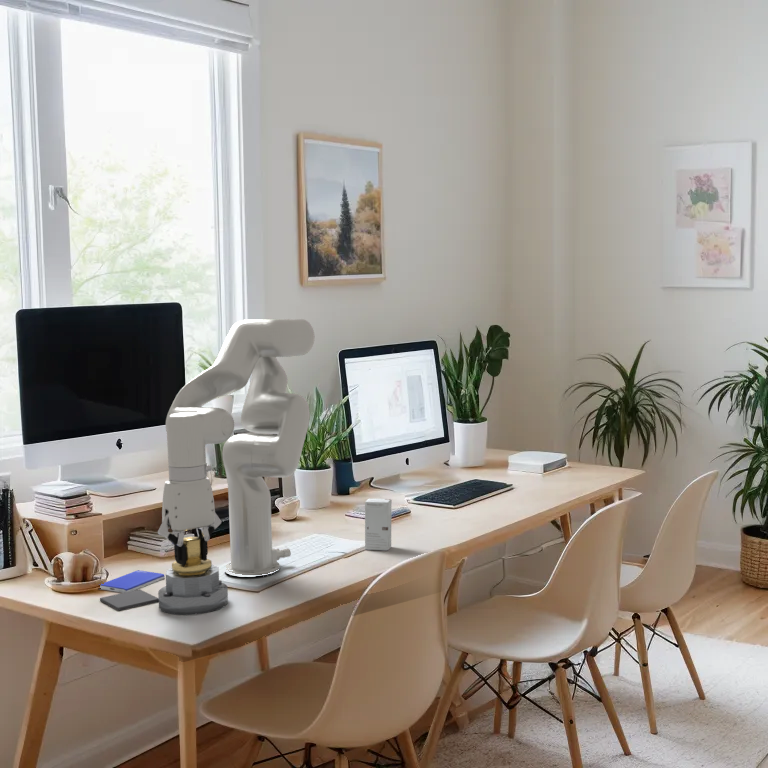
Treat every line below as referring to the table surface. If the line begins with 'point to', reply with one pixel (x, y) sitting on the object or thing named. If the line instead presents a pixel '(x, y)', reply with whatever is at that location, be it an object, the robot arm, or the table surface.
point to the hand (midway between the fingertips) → (191, 560)
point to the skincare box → (378, 524)
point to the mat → (129, 599)
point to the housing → (193, 593)
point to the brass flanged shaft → (192, 559)
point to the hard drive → (132, 581)
